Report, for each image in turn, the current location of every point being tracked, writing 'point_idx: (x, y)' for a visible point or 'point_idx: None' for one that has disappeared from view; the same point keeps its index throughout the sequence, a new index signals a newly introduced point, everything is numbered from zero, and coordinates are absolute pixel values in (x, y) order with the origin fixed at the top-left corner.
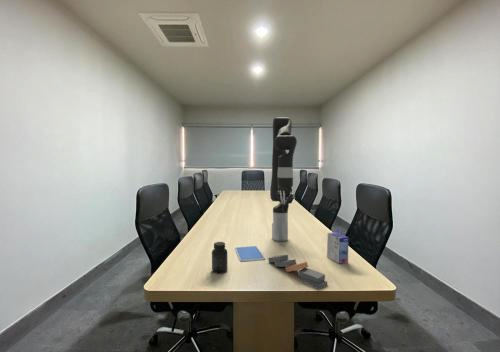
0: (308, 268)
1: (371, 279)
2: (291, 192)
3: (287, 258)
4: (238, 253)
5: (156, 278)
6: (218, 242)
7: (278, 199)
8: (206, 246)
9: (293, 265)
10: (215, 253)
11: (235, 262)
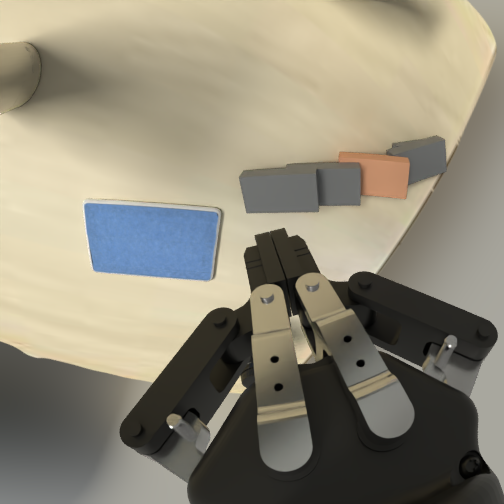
0: (403, 153)
1: (464, 25)
2: (466, 393)
3: (316, 172)
4: (151, 275)
5: (239, 391)
6: (248, 383)
7: (214, 375)
8: (74, 328)
9: (386, 196)
10: None
11: (212, 290)
